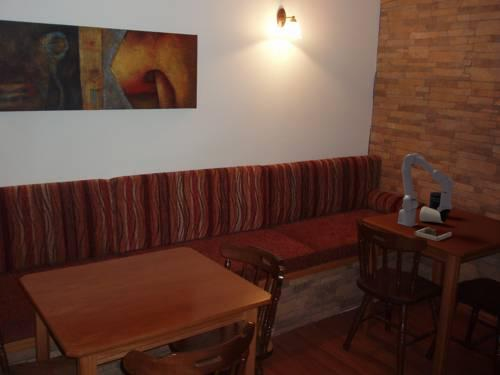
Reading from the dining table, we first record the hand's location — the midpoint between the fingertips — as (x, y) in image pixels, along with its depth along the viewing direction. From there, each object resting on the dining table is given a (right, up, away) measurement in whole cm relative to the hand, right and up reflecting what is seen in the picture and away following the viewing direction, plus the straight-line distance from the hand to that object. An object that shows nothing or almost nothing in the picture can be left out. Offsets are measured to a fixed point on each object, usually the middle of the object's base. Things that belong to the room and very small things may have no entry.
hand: (443, 221), depth 300 cm
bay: (-8, -8, -6) cm, 12 cm away
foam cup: (+5, +1, +15) cm, 16 cm away
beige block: (-11, -8, -8) cm, 15 cm away
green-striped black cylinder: (+9, +1, +38) cm, 39 cm away
